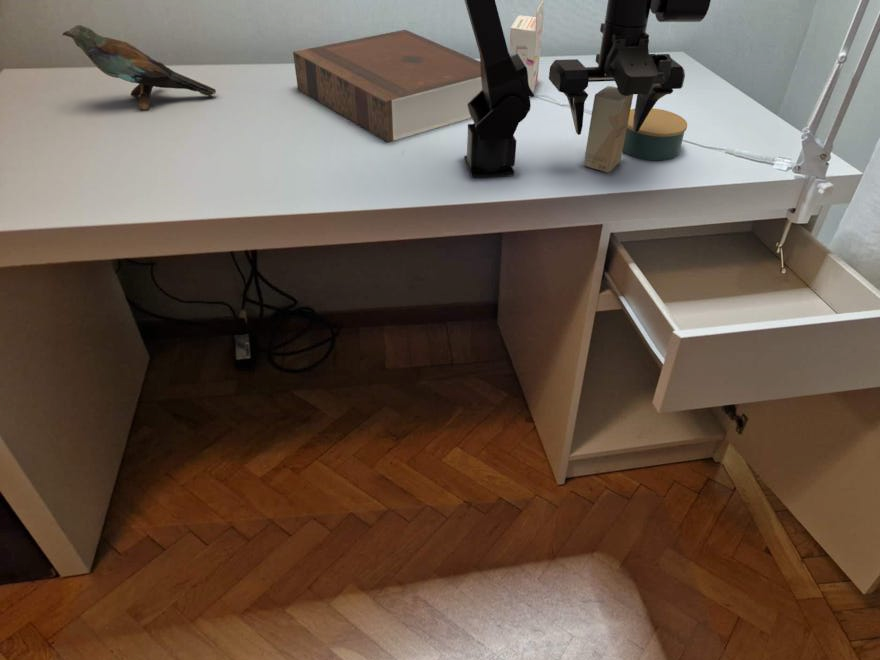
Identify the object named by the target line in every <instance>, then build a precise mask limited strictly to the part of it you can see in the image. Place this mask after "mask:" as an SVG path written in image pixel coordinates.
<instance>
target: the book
mask: <svg viewBox="0 0 880 660" xmlns="http://www.w3.org/2000/svg"><path fill="white" fill-rule="evenodd" d="M292 53H293V55H292V56H293V64H294V70H295V71H294V72H295V78H296V86H297V90H298V91H300V92H301V93H303V94H305V95H306V96H308V97H310V98H311V99H313V100H315V101H316V102H318V103H320V104H321V105H324V106H325V107H327V108H329V109H330V110H332V111H334V112H335V113H337V114H339V116H342V117H344V118H345V119H347V120H349V121H351V122H352V123H354V124H356V125H357V126H359V127H361V128H362V129H364V130H365V131H368V132H369V133H371V134H373V135H374V136H375V137H378V139H381V140H382V141H385V142H386V143H391V142H394V141H398V140H401V139H404V138H408V137H411V136H414V135H418V134H421V133H424V132H427V131H431V130H434V129H437V128H441V127H445V126H447V125H448V126H449V125H451V124H455V123H458V122H462V121H464V120H469V119H472V118H471V115H470V112H469V109H468V106H467V105H468V103H469V102H470V101H471V100H472V99H473V98H474V97H475V96H476V95H477V94H478V93H479V92H480V91H481V90H482V81H481V69H480V60H477V59H476V58H473V57H471V56H468V55H465V54H463V53H461V52H459V51H456V50H454V49H452V48H449V47H447V46H444V45H442V44H440V43H437V42H435V41H433V40H430V39H428V38H426V37H423V36H421V35H419V34H416V33H415V32H412V31H410V30H408V29H402V30H396V31H391V32H386V33H382V34H377V35H371V36H366V37H360V38H355V39H351V40H346V41H345V40H344V41H340V42H336V43H329V44H325V45H320V46H316V47H310V48H305V49H299V50H295V51H292Z"/></svg>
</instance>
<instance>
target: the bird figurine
mask: <svg viewBox="0 0 880 660" xmlns="http://www.w3.org/2000/svg"><path fill="white" fill-rule="evenodd" d="M62 36H64V37H65V36H66V37H68V38H71V39H72V40H73V41H74V43H75V45H76V46H77V47H78V48H79V49H81V51H82V52H83V53H84V54H85V55H86V56H87V58H89V60H90V61H91V62H92V64H94V66H95V67H96V68H97V69H98V70H99V71H100V72H101V73H103V74H105V75H107V76H108V77H111V78H117V79H121V80H123V81H125V82H129V83H133V84H138V85H136V86H135V87H134V88H133V89H132V90H131V92H130V96H131V97H133V98H135V99H138V102H139V104H138V106H139V108H140V109H141V110H143V111H147V110H148V109H149V107H150V103H151V97H152V91H153V88H154V87H155V88H161V89H162V88H163V89H177V90H178V89H179V90H188V91H193V92H198V93H200V94H201V95H203V96H207V97H209V98H211V97H213V95H215V94H216V90H217V89H215V88H213V87H211V86H210V85H209V86H208V85H206V84H204V83H202V82H199V81H197V80H195V79H192V78H190V77H188V76H186V75H184V74H183V75H182V74H181V73H178V72H176V71H174V70H173V69H170V68H169V67H167V66H166V65H165V64H164V63H163V62H160V61H157V60H155V59H153V58H152V57H150V56H149V55H148V54H146V53H144V52H143V51H141V50H140V49H138V48H137V47H136V46H135V45H132V44H130V43H129V42H126V41H124V40H119V39H114V38H111V37H107V36H102V35H99V34H97V33H96V32H95V31H94V30H93V29H91V28H90V27H87V26H84V25H82V24H77V25H74V26H73V27H71V28H70V29H68V30H65V31H64V32H63V33H62Z"/></svg>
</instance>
